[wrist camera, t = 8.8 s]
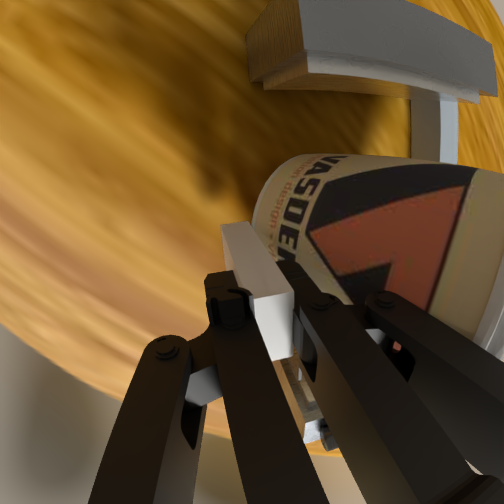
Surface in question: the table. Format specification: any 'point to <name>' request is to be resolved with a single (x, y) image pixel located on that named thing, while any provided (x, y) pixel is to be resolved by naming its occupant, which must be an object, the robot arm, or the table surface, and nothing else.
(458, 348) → the robot arm
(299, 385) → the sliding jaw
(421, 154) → the back rail
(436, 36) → the block
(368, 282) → the coffee cup
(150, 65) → the table surface
